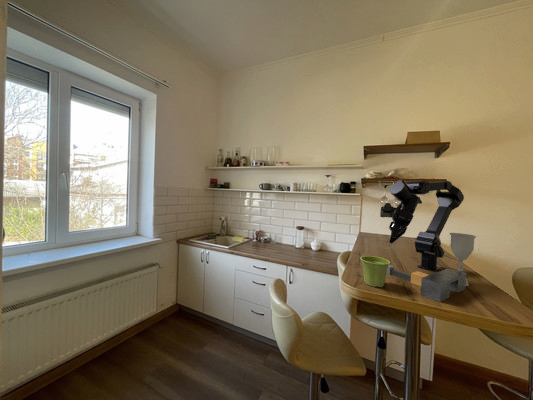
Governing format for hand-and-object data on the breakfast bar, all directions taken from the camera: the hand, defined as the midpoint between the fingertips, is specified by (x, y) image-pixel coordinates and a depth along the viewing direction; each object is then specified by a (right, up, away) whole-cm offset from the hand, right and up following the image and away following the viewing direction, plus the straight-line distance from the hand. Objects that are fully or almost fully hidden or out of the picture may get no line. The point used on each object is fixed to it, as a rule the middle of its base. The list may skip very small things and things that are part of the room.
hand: (391, 240), depth 83 cm
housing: (+9, -15, -14) cm, 22 cm away
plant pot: (-12, -14, -9) cm, 20 cm away
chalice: (+22, -15, -6) cm, 27 cm away
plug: (+3, -14, -3) cm, 15 cm away
